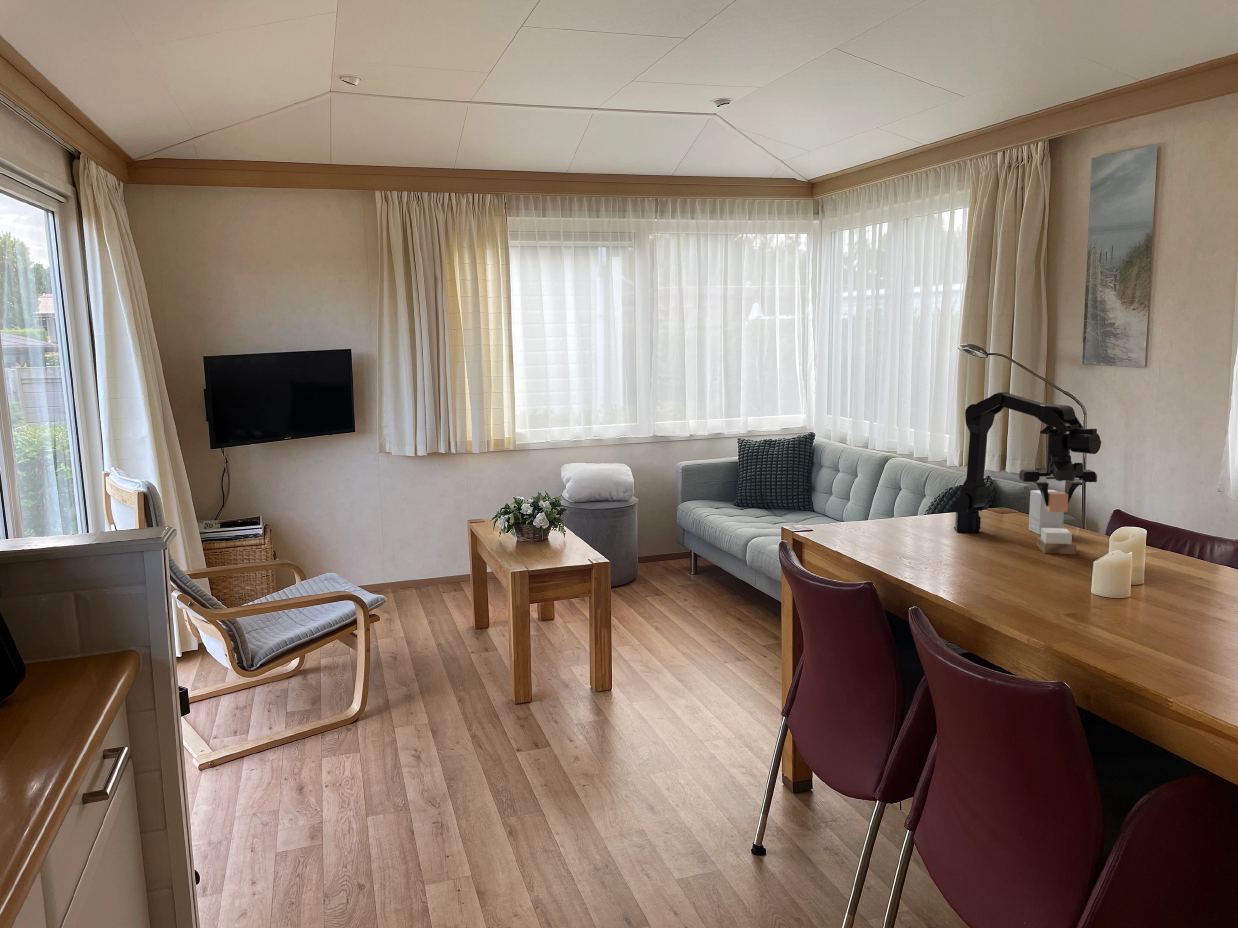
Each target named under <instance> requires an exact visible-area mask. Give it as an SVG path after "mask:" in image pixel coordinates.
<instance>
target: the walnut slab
mask: <svg viewBox="0 0 1238 928" xmlns="http://www.w3.org/2000/svg"><path fill="white" fill-rule="evenodd" d="M1036 538H1037V542H1036V547H1037V546H1038V547H1039V548H1040V550H1041V551H1042V553H1044V554H1055V553H1059V554H1062V555H1076V554H1077V544H1076V543H1074V542H1073V541H1072V542H1071V544H1049V543H1045V542H1044V541H1043V540H1042V539H1041V537H1036ZM1038 547H1037V548H1038ZM1039 548H1038V549H1039Z"/></svg>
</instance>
